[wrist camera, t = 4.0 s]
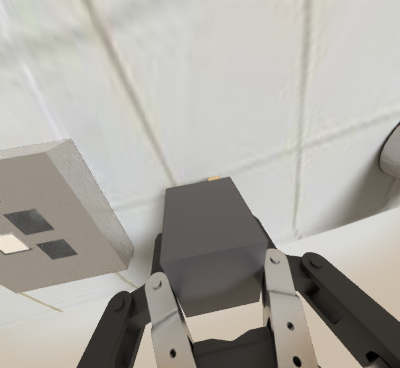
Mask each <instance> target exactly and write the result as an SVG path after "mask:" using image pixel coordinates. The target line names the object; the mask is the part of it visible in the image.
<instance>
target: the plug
mask: <svg viewBox="0 0 400 368" xmlns="http://www.w3.org/2000/svg"><path fill="white" fill-rule="evenodd" d="M267 246H268V239H267V238H266V236H265V234H264V233H263V231H262V229H261V228H260V226H259V224H258V223H257V221H256V219H255V218H254V216H253V214H252V213H251V211H250V209H249V208H248V206H247V204H246V203H245V201H244V199H243V198H242V196H241V194H240V193H239V191H238V189H237V188H236V186H235V184H234V183H233V181H232V179H231V178H230V177H226V178H221V179H220V178H219V176H216V177H211V178H208V181H205V182H200V183H195V184H189V185H184V186H179V187H174V188H168V189H166V197H165V209H164V220H163V232H162V243H161V255H160V265H161V267H162V269H163V271H164V273H165V275H166V277H167V279H168V281H169V283H170V285H171V287H172V289H173V291H174V293H175V295H176V297H177V299H178V301H179V303H180V305H181V307H182V309H183V311H184V313H185V315H186V317H192V316H196V315H201V314H205V313H210V312H214V311H219V310H223V309H228V308H232V307H237V306H241V305H246V304H250V303H255V302H259V299H260V292H261V284H262V279H263V272H264V265H265V259H266V252H267Z"/></svg>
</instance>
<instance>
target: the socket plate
mask: <svg viewBox="0 0 400 368" xmlns="http://www.w3.org/2000/svg"><path fill="white" fill-rule="evenodd" d="M11 232H13V233H14V234H15V235H17V236H18V237H19V238H20V239H21V240H22V241H23V242H25V243H26V244H27V245H28V246H29V247H30V249H27V250H22V251H17V252H12V253H7V254H6V253H4V252H3V251H2V250H0V284H1V285H3V286H5V287H6V288H8V289H10V290H11V291H13V292H15V293H20V292H25V291H30V290H34V289H39V288H43V287H48V286H53V285H57V284H62V283H67V282H71V281H76V280H81V279H85V278H90V277H95V276H99V275H104V274H109V273H113V272H118V271H122V270H127V269H128V266H129V262H130V258H131V254H132V250H133V245H132V243H131V242H130V240H129V238H128V236H127V235H126V233H125V231H124V229H123V228H122V226H121V224H120V223H119V221H118V219H117V217H116V216H115V214H114V212H113V210H112V209H111V207H110V205H109V204H108V202H107V200H106V198H105V197H104V195H103V193H102V192H101V190H100V188H99V186H98V185H97V183H96V181H95V179H94V178H93V176H92V174H91V173H90V171H89V169H88V167H87V166H86V164H85V162H84V160H83V159H82V157H81V155H80V154H79V152H78V150H77V148H76V147H75V145H74V143H73V142H72V140H71V139H65V140H59V141H53V142H47V143H41V144H35V145H29V146H23V147H17V148H11V149H5V150H0V234H6V233H11Z"/></svg>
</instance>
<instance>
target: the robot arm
mask: <svg viewBox="0 0 400 368" xmlns="http://www.w3.org/2000/svg"><path fill="white" fill-rule="evenodd" d="M380 167H381V169H382V171H384V172H385V173H387V174H389V175H391V176H394V177H396V178H399V179H400V125H399V126H398V127H397V128H396V130H395V131H394V132H393V134H392V135H391V136H390V138H389V139H388V141H387V142H386V144H385V146H384V148H383V150H382V153H381V157H380ZM254 218H255V219H256V221H257V223H258V224H259V226H260V228H261V229H262V231H263V233H264V234H265V236H266V238H267V239H268V246H267V252H266V259H265V265H264V272H263V279H262V284H261V292H262V303H263V326H264V327H261V328H256V329H252V330H249V331H247V332H246V333H244V334H243V335H241V336H240V337H238V338H237V339H235V340H233V341H225V340H217V339H208V340H204V341H199V342H195V343H193V340H192V337H191V335H190V332H189V330H188V327H187V325H186V322H185V319H184V316H183V313H182V310H181V308H180V305H179V302H178V299H177V297H176V295H175V293H174V291H173V289H172V287H171V285H170V283H169V281H168V279H167V277H166V275H165V273H164V271H163V269H162V267H161V265H160V255H161V243H162V233H160V234H158V236H157V238H156V240H155V248H154V255H153V263H152V271H151V275H150V277H149V278H148V280H147V281H146V283H145V284H144V285H143V286H142V287H140V288H138V289H137V290H135V291H133V292H131V293H129V292H127V291H121V292H119V293H117V294H116V295H115V296H113V297H112V299H111V300H110V301H109V303H108V305H107V307H106V309H105V311H104V313H103V315H102V317H101V319H100V321H99V323H98V325H97V327H96V329H95V331H94V333H93V335H92V337H91V339H90V341H89V344H88V346H87V348H86V350H85V352H84V354H83V356H82V358H81V360H80V362H79V364H78V366H77V368H133V365H134V362H135V359H136V355H137V352H138V349H139V345H140V342H141V339H142V335H143V332H144V329H145V325H146V324H148V323H150V322H152V329H151V335H152V342H153V347H154V352H155V357H156V363H157V368H321V367H320V366H319V365H318V364H317V360H316V356H315V352H314V348H313V344H312V341H311V337H310V333H309V329H308V326H307V321H306V318H305V314H304V310H303V306H302V302H301V300H300V298H299V296H297V295H296V292H295V291H298V292H299V293H300V294H301V295H302V296H303V297H304V299H305V300H306V301H307V302H308V303H309V305H310V306H311V307H312V308H313V309H314V310H315V312H316V313H317V314H318V315H319V316H320V318H321V319H322V320H323V321H324V322H325V323H326V325H327V326H328V327H329V328H330V329H331V330H332V332H333V333H334V334H335V335H336V336H337V337H338V339H339V340H340V341H341V342H342V343H343V345H344V346H345V347H346V348H347V349H348V351H349V352H350V353H351V354H352V355H353V356H354V358H355V359H356V360H357V361H358V362H359V364H360V365H361V366H362V367H363V368H400V322H399V321H398V320H397V319H395V318H394V317H393V316H392V315H391V314H390V313H388V312H387V311H386V310H385V309H384V308H383V307H381V306H380V305H379V304H378V303H377V302H375V301H374V300H373V299H372V298H371V297H370V296H368V295H367V294H366V293H365V292H364V291H362V290H361V289H360V288H359V287H358V286H357V285H355V284H354V283H353V282H352V281H351V280H350V279H348V278H347V277H346V276H345V275H344V274H343V273H341V272H340V271H339V270H338V269H337V268H335V267H334V266H333V265H332V264H331V263H330V262H328V261H327V260H326V259H325V258H324V257H322V256H321V255H319V254H316V253H312V252H308V253H305V254H304V255H303V256H302V257H298V256H290V255H286V254H284V253H282V252H281V251H280V250H278V249H277V248H276V247H275V245H274V244H273V242H272V240H271V239H270V237H269V236H268V234H267V232H266V231H265V229H264V228H263V226H262V224H261V223H260V221H259V219H257V218H256V217H255V216H254Z"/></svg>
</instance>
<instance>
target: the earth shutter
mask: <svg viewBox="0 0 400 368" xmlns="http://www.w3.org/2000/svg"><path fill="white" fill-rule="evenodd" d="M27 249H30V247H29V246H28V245H27V244H26V243H25V242H23V241H22V240H21V239H20V238H19V237H18V236H17V235H15V234H14V233H13V232H11V233H6V234H0V250H2V251H3V252H4V253H6V254H7V253H12V252H17V251H22V250H27Z"/></svg>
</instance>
